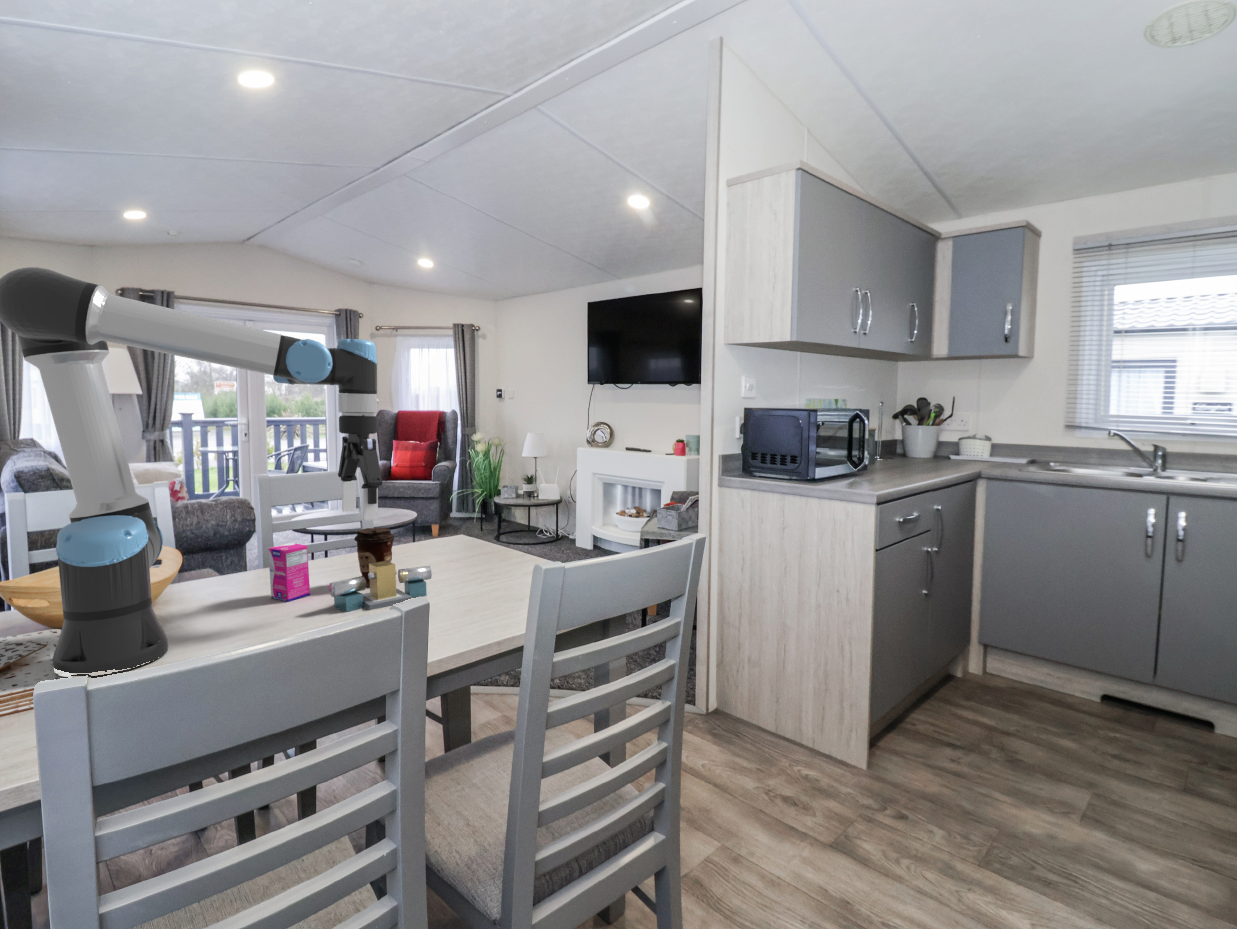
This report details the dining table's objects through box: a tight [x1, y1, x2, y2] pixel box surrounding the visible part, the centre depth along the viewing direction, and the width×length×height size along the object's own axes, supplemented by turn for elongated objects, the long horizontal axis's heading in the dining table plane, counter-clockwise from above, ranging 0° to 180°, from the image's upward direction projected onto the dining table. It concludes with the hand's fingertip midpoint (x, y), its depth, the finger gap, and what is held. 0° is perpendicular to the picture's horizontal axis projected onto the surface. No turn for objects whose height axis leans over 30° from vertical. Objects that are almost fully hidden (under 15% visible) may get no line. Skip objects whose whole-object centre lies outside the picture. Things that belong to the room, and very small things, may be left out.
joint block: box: [368, 561, 397, 600], centre depth 141 cm, size 6×4×7 cm
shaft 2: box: [397, 565, 433, 599], centre depth 146 cm, size 7×5×6 cm
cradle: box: [362, 587, 413, 611], centre depth 142 cm, size 9×9×1 cm
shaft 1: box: [328, 575, 367, 613], centre depth 137 cm, size 7×5×6 cm
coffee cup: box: [354, 527, 395, 587], centre depth 154 cm, size 9×8×13 cm
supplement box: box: [267, 542, 311, 603], centre depth 144 cm, size 6×6×12 cm
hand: (359, 515), depth 139 cm, fingers open, 13 cm apart
